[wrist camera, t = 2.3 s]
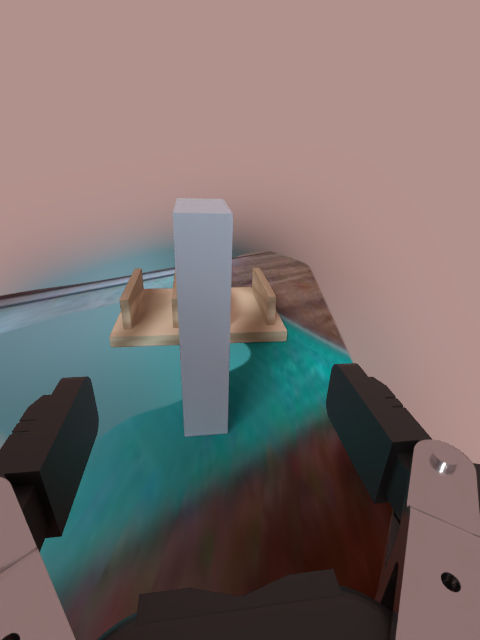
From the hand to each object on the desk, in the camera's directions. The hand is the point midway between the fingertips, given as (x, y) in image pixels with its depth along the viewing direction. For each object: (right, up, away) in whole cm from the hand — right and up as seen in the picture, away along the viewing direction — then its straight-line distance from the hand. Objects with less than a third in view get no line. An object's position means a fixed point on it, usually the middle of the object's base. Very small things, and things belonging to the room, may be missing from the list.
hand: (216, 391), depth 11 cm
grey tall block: (-2, -4, +15) cm, 16 cm away
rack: (-4, +3, +29) cm, 29 cm away
